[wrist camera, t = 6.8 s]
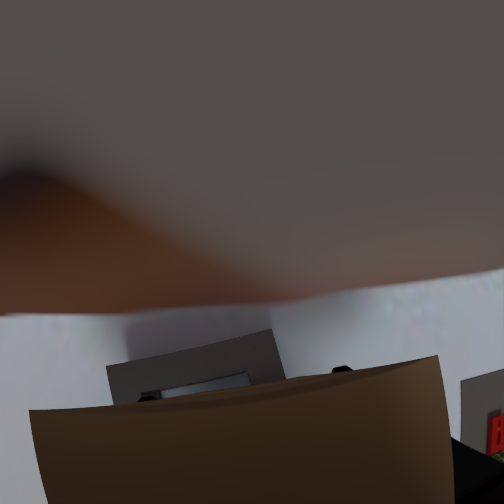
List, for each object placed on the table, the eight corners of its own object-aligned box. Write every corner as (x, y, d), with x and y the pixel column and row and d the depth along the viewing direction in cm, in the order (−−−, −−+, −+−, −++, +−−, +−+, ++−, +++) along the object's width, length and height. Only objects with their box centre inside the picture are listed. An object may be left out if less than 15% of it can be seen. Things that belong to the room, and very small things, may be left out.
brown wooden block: (311, 431, 14) (452, 551, 2) (211, 447, 14) (84, 592, 2) (300, 376, 15) (437, 354, 3) (202, 392, 15) (28, 410, 3)
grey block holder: (302, 449, 19) (310, 463, 15) (158, 477, 18) (139, 493, 14) (269, 337, 22) (271, 328, 18) (129, 369, 21) (105, 365, 18)
